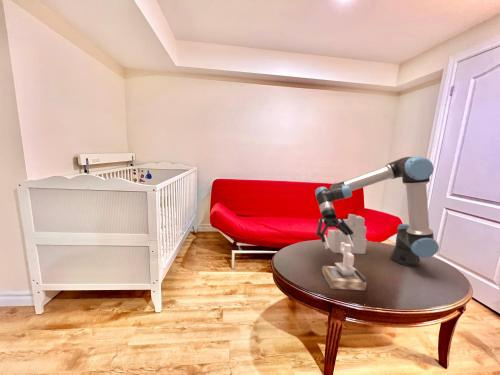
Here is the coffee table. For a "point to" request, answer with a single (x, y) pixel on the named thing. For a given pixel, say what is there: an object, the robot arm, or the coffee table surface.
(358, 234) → the building blocks
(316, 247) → the coffee table surface
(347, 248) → the figurine
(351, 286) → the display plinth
